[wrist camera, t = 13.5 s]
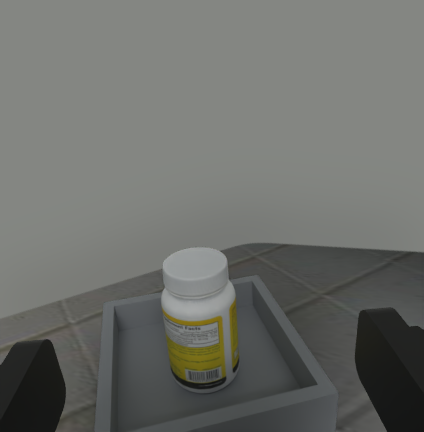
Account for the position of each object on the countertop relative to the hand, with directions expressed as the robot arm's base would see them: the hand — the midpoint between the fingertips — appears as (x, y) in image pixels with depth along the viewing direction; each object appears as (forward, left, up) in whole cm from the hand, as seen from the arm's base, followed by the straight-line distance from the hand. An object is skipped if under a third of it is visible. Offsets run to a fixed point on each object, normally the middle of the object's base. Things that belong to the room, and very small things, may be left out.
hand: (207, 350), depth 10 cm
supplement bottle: (-2, -12, -13) cm, 17 cm away
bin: (-1, -12, -13) cm, 18 cm away
